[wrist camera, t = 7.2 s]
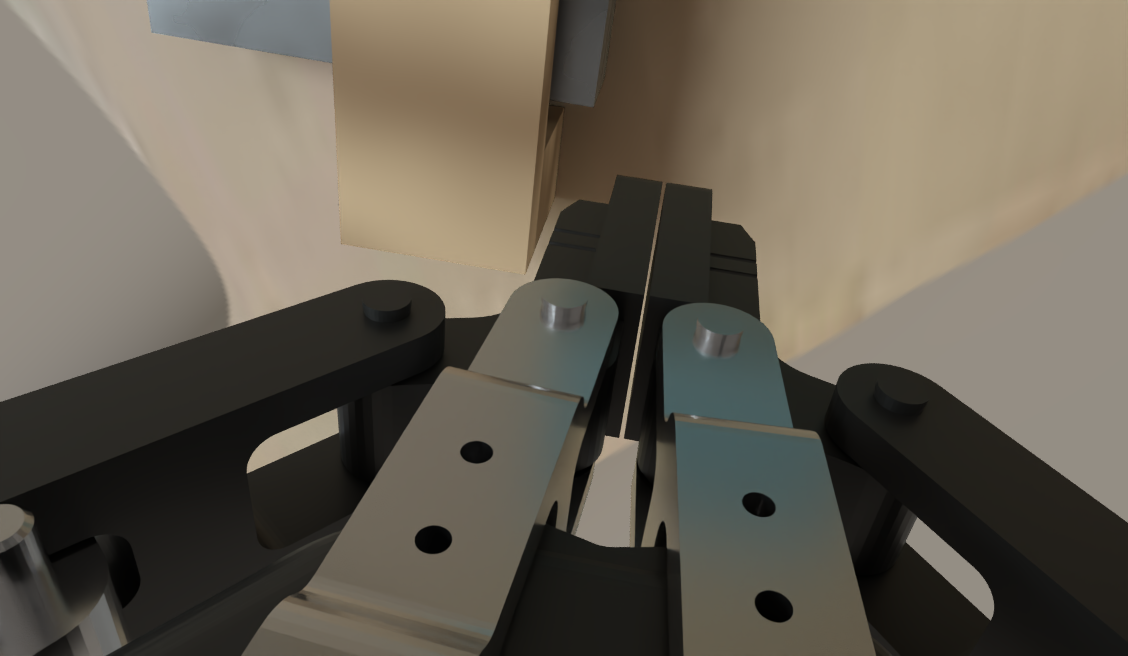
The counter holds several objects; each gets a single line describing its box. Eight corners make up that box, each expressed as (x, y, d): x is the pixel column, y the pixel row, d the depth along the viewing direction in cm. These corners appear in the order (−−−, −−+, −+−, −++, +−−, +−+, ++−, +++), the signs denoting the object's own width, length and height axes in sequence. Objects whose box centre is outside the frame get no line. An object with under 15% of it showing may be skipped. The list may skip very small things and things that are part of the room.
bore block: (397, -200, 21) (319, -199, 17) (594, -174, 20) (566, -167, 16) (399, 173, 26) (340, 244, 22) (554, 197, 26) (525, 274, 22)
